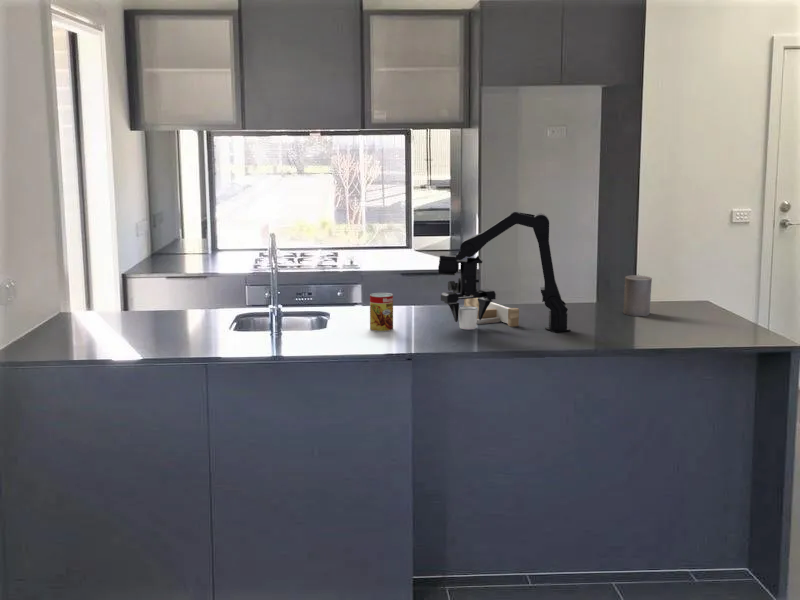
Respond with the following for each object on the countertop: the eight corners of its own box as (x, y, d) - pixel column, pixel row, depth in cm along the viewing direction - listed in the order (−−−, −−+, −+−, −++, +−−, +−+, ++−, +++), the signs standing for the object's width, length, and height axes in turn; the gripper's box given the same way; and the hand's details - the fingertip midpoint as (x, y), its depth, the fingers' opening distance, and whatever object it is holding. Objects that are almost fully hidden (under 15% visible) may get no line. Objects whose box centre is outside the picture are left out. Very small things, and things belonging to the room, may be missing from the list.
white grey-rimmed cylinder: (478, 329, 321) (478, 309, 320) (458, 329, 321) (458, 309, 320) (477, 325, 328) (477, 306, 327) (457, 325, 328) (457, 305, 327)
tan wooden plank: (519, 325, 328) (520, 308, 327) (488, 328, 323) (488, 311, 322) (473, 309, 358) (473, 293, 357) (443, 311, 353) (443, 295, 352)
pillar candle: (617, 312, 352) (619, 272, 349) (638, 310, 356) (640, 271, 353) (634, 317, 343) (636, 276, 340) (655, 315, 347) (657, 274, 344)
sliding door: (513, 323, 329) (513, 309, 329) (490, 326, 326) (490, 311, 325) (487, 314, 346) (488, 300, 345) (466, 316, 342) (466, 302, 341)
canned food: (390, 331, 318) (390, 296, 316) (367, 330, 319) (367, 296, 317) (395, 327, 325) (395, 292, 323) (372, 326, 327) (372, 292, 325)
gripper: (481, 270, 332) (480, 314, 335) (433, 274, 325) (433, 318, 328) (497, 275, 322) (496, 320, 325) (448, 278, 315) (447, 324, 318)
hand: (468, 320), depth 324 cm, fingers open, 9 cm apart
